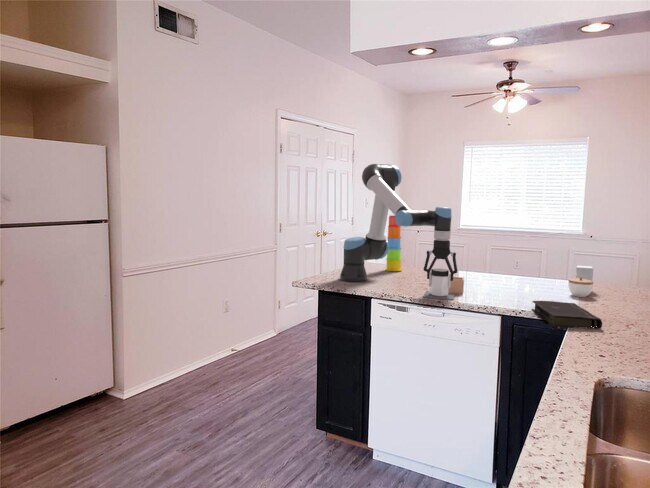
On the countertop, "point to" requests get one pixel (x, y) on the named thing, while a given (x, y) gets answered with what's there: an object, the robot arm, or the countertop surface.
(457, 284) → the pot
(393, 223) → the stacking cups
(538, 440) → the countertop surface
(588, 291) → the lidded jar
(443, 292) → the jar
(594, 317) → the diary
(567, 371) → the countertop surface
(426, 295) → the mat
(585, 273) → the supplement box
